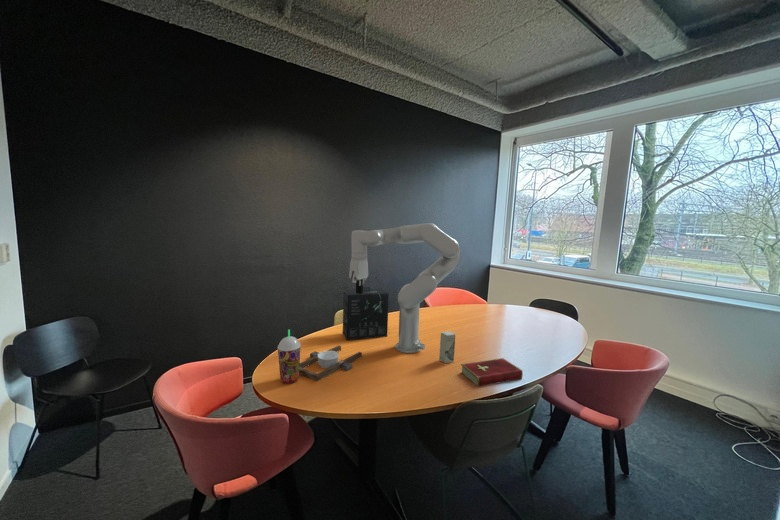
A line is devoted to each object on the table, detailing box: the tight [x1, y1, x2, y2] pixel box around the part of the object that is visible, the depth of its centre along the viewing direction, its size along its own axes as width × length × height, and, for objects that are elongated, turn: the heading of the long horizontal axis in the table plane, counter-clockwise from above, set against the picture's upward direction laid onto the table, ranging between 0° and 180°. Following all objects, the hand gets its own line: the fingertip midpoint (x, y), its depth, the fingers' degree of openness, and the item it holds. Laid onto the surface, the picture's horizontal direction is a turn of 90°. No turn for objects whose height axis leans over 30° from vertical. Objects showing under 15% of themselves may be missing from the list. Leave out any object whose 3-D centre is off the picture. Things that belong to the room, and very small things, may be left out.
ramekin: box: [317, 350, 339, 369], centre depth 137 cm, size 9×9×4 cm
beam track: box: [299, 345, 363, 382], centre depth 137 cm, size 22×28×2 cm
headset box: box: [342, 286, 390, 341], centre depth 171 cm, size 22×12×26 cm, turn 111°
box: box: [438, 330, 456, 364], centre depth 142 cm, size 5×4×13 cm
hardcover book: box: [460, 357, 524, 387], centre depth 130 cm, size 12×21×4 cm, turn 109°
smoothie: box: [277, 329, 302, 384], centre depth 121 cm, size 8×8×20 cm
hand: (359, 293), depth 157 cm, fingers closed
